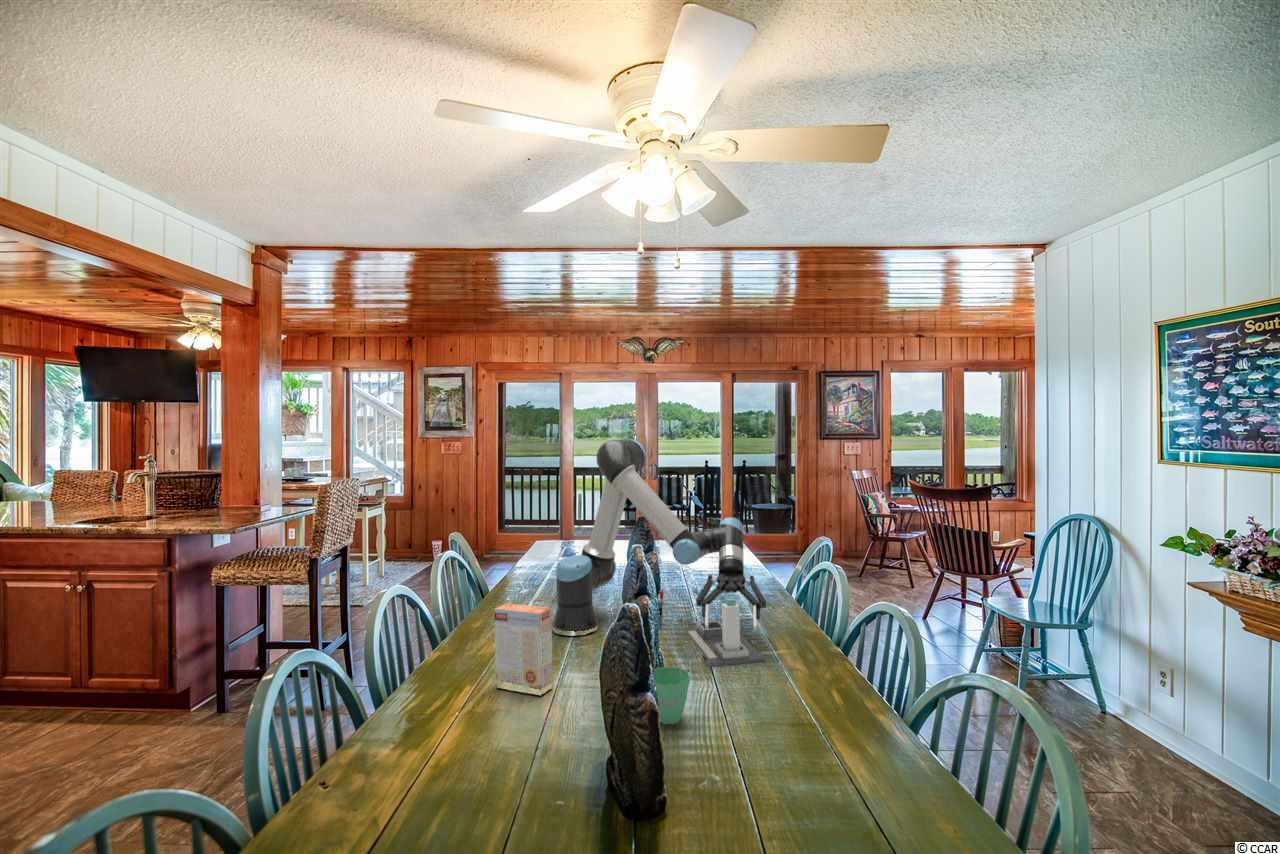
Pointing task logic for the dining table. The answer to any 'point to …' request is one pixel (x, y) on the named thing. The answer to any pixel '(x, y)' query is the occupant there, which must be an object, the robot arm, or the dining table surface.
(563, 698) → the dining table surface
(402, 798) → the dining table surface
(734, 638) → the plug
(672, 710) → the green cup
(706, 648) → the panel
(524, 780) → the dining table surface
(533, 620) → the cracker box
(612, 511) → the robot arm
